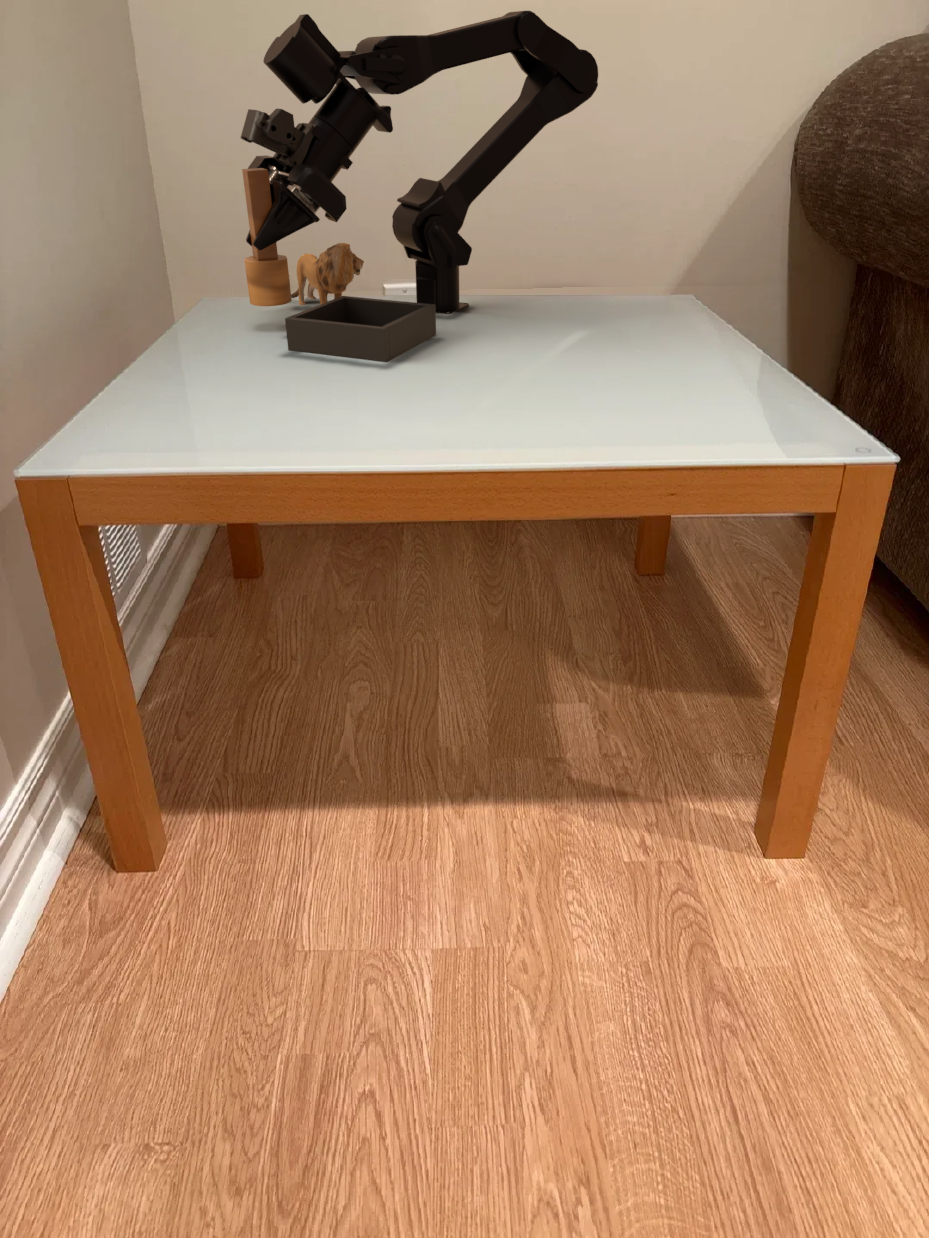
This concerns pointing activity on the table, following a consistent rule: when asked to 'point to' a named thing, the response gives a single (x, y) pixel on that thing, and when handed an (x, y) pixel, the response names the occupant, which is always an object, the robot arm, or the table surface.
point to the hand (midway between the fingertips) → (252, 246)
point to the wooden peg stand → (265, 265)
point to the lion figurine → (327, 272)
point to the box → (361, 328)
